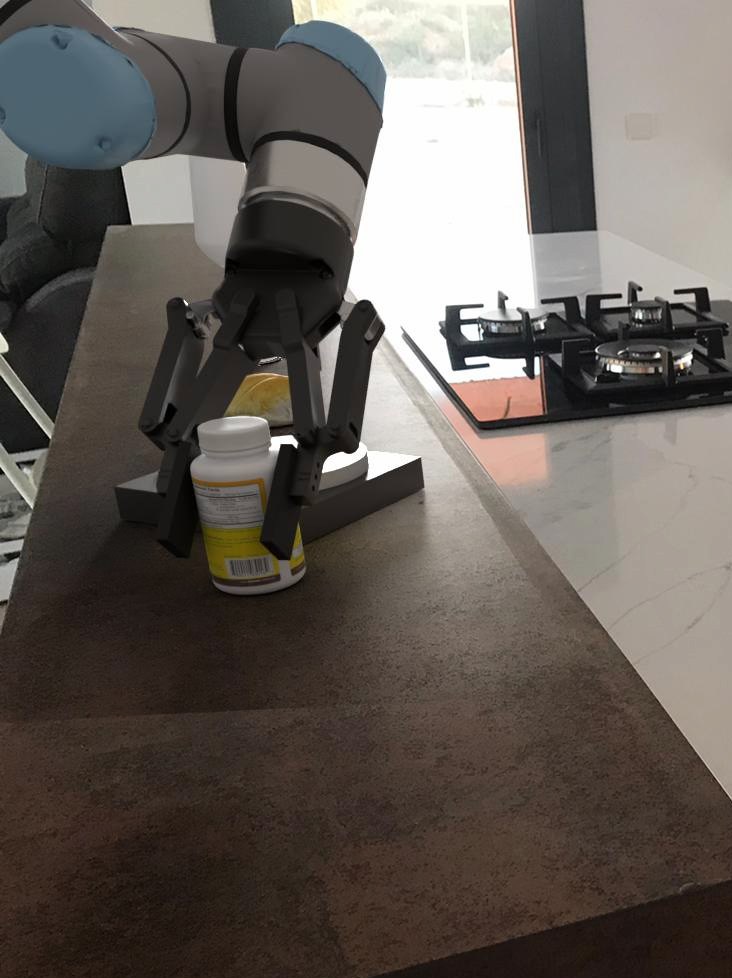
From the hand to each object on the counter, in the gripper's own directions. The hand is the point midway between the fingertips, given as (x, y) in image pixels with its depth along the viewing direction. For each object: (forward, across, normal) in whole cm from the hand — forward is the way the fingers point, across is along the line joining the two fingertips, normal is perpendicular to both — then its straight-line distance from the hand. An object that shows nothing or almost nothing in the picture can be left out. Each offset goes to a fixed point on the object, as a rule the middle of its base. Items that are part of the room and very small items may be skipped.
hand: (223, 549), depth 76 cm
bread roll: (-28, +17, -33) cm, 47 cm away
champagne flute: (-45, +30, -50) cm, 74 cm away
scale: (-11, +6, -16) cm, 20 cm away
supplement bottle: (0, 0, -5) cm, 5 cm away
